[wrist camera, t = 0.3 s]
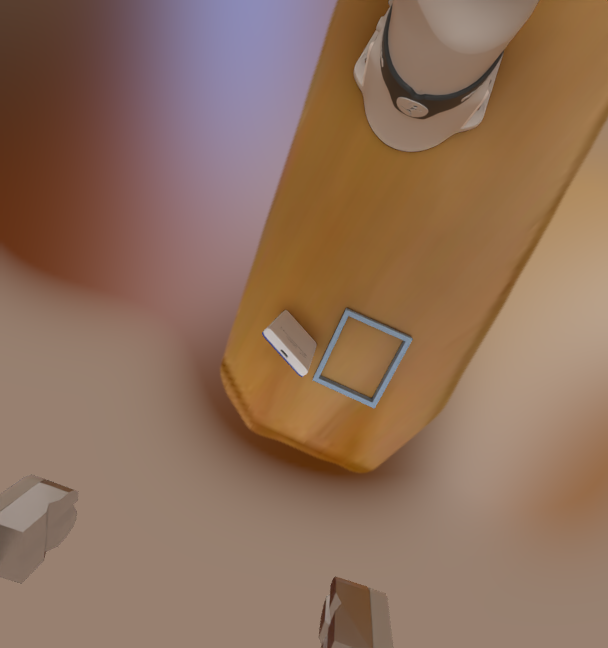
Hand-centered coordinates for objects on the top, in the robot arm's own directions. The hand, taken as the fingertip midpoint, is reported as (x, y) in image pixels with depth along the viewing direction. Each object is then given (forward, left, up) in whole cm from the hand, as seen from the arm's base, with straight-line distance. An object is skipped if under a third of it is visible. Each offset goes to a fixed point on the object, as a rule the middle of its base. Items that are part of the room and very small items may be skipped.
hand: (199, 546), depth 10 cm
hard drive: (+6, -2, -46) cm, 46 cm away
